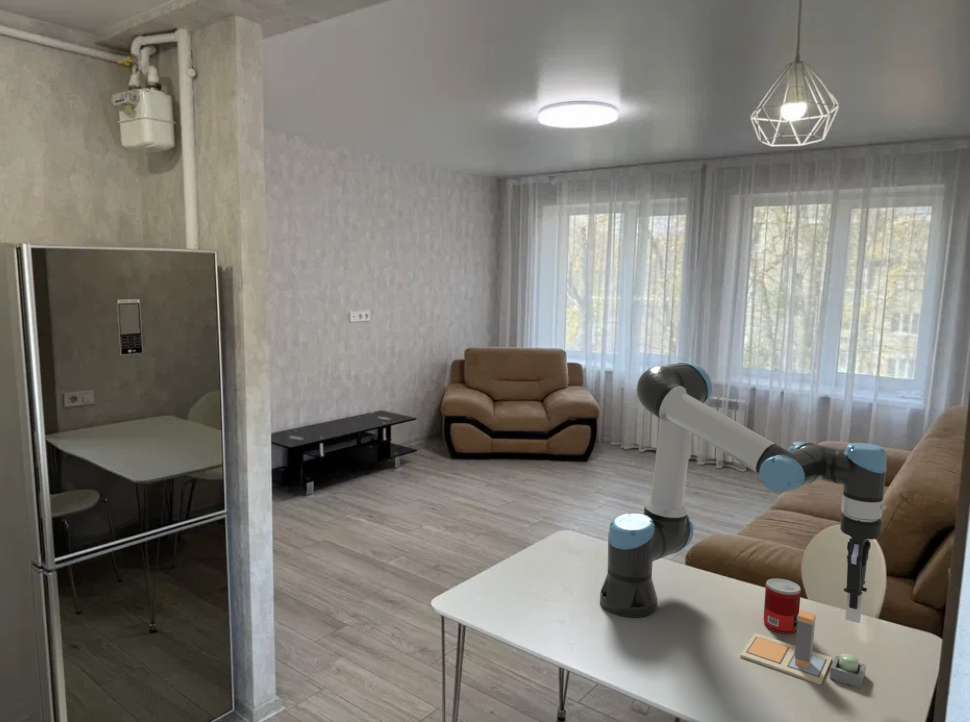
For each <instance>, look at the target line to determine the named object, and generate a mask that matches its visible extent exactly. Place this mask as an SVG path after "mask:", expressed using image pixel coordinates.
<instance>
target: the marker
mask: <svg viewBox="0 0 970 722" xmlns="http://www.w3.org/2000/svg"><path fill="white" fill-rule="evenodd" d="M816 616H817V615H816V614H815V613H812V612H808V611H806V610H799V614H798V619H797V621H798V622H797V630H796V637H795V638H796V639H795V641H796V642H795V646H796V649H795V664H796V665H799V666H802V667H805V668H808V669H809V666H810V664H811V659H812V653H813V652H814V639H815V637H814V636H815V625H816V618H817V617H816Z"/></svg>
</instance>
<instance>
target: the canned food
mask: <svg viewBox="0 0 970 722" xmlns="http://www.w3.org/2000/svg"><path fill="white" fill-rule="evenodd" d="M764 592H765V593H764V605H763V606H764V607H763V623H764V626H765V627H766V628H768V629H770V631H771V630H772V632H776V633H780V634H785V635H786V634H793V633H796V632H797V622H798V621H797V619H798V614H799V613H800V606H801V594H802V593H801V587H800V585H799V584H798V583H796V582H794V581H792V580H789V579H786V578H785V579H784V578H776V577H775V578H770V579H767V580H766V583H765V591H764Z"/></svg>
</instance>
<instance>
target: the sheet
mask: <svg viewBox="0 0 970 722" xmlns="http://www.w3.org/2000/svg"><path fill="white" fill-rule="evenodd" d="M750 638H751V639H750V640H749V641H748V643H747V645H746V646H745V647H744V648H743V650H742V652H741V653H740V654H739V655H740V656H739V657H740V658H742V659H745V660H748V661H751V662H754V663H757V664H760V665H762V666H764V667H765V666H766V667H768V668H771V669H774V670H777V671H780V672H782V673H784V674H788V675H791V676H794V677H796V678H800V679H802V680H805V681H808V682H811V683H813V684H817V685H820V686H821V685H822V684H823V681H824V679H825V677H826V674H827V672H828V669H829V668H830V666H831V664H832V663H831V662H833V657H832V656H828V655H826V654H822V653H820V652H815V651H813V653H812V659H811V664H810V666H809V669H808V668H805V667H802V666H799V665H796V664H795V649H796V644H792V643H788V642H785V641H781V640H778V639H775V638H772V637H769V636H766V635H763V634H761V633H756V632H755V633H754V634H753V635H752V637H750Z"/></svg>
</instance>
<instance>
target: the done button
mask: <svg viewBox="0 0 970 722" xmlns="http://www.w3.org/2000/svg"><path fill="white" fill-rule="evenodd" d="M839 656H840V659H839V669H842V670H846V671H849V672H852V673H855V674H857V670H858V663H859V659H858V658H857V656H854V655H853V654H850V653H841V654H839Z"/></svg>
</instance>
